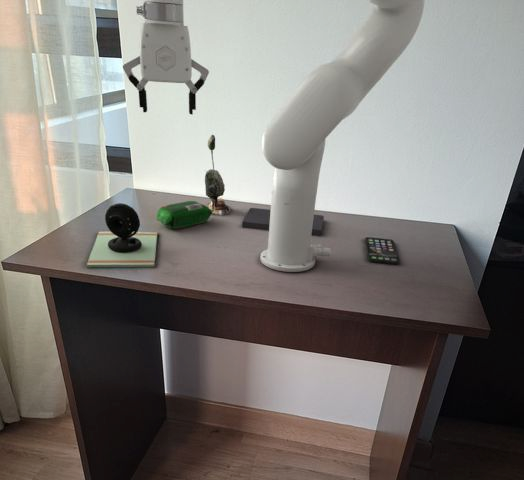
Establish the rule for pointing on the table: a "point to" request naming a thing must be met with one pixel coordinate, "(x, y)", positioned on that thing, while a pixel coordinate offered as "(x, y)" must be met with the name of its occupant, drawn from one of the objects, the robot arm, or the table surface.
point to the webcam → (123, 228)
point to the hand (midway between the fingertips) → (168, 112)
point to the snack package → (183, 214)
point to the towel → (109, 258)
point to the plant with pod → (215, 186)
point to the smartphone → (381, 250)
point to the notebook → (262, 220)
